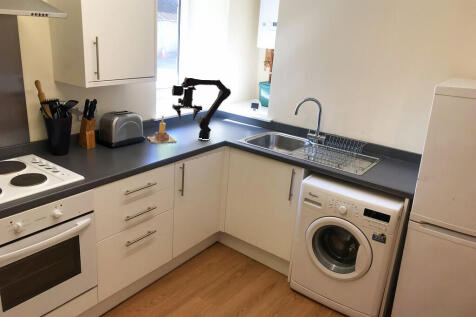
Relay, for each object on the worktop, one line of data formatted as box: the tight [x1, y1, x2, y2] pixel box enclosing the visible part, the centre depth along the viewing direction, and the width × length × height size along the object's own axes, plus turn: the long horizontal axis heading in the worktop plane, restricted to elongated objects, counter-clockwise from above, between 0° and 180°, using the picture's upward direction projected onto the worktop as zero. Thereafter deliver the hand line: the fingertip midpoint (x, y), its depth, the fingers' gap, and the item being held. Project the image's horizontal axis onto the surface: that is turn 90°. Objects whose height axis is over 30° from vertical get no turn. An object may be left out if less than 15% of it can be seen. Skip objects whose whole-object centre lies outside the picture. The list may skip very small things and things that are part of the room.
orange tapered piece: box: [158, 115, 166, 135], centre depth 256 cm, size 4×4×15 cm
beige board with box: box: [147, 131, 177, 144], centre depth 258 cm, size 16×12×4 cm
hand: (186, 120), depth 262 cm, fingers open, 9 cm apart
